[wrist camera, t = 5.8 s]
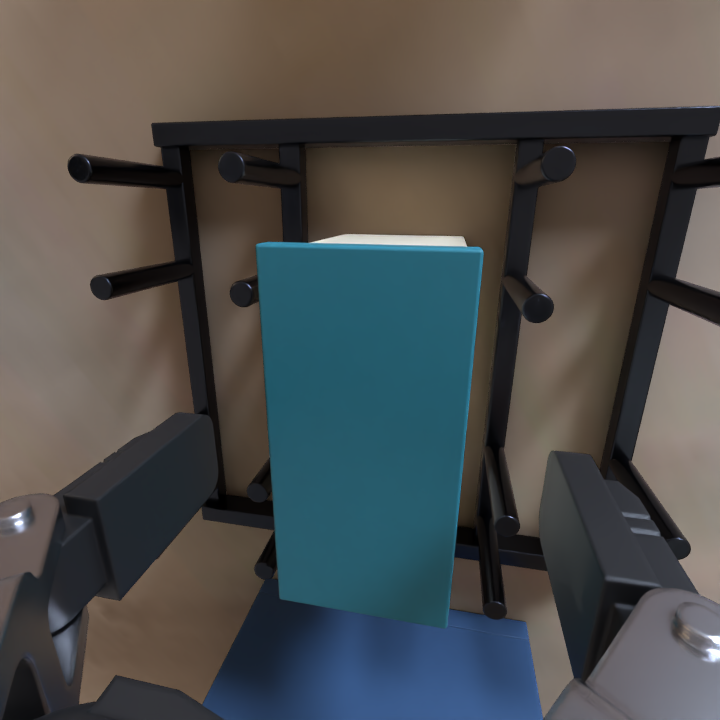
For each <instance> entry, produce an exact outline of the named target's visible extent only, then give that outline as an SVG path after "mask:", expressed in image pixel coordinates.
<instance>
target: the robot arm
mask: <svg viewBox="0 0 720 720" xmlns="http://www.w3.org/2000/svg"><path fill="white" fill-rule="evenodd" d="M217 480H218V462H217V454H216V445H215V437H214V429H213V423H212V420H211V418H210V417H209V416H208V415H202V414H192V413H182V412H178V413H175V414H174V415H172V416H171V417H170V418H168V419H167V420H166V421H164V422H163V423H161V424H160V425H159V426H157V427H156V428H155V429H153V430H152V431H150V432H148V433H145V434H143V435H141V436H138V437H136V438H134V439H132V440H131V441H130V442H128V443H127V444H125V445H124V446H122V447H121V448H120V449H118V451H117V453H115V452H114V453H113V454H111V455H110V456H108V457H107V458H106V459H104V462H103V463H102V462H100V463H99V464H97V465H96V466H94V467H93V468H91V469H90V470H89V471H87V472H86V473H84V474H83V475H82V476H80V477H79V478H77V479H76V480H75V481H73V482H72V483H70V484H69V485H68V486H66V487H65V488H63V489H62V490H60V491H59V492H58V493H56V494H55V495H49V494H29V495H23V496H19V497H15V498H12V499H9V500H6V501H3V502H1V503H0V720H224V719H223V718H221V717H220V716H218V715H217V714H215V713H214V712H212V711H211V710H209V709H208V708H206V707H204V706H203V705H201V704H200V703H198V702H197V701H195V700H194V699H192V698H191V697H189V696H188V695H186V694H185V693H183V692H181V691H180V690H177V689H172V688H168V687H164V686H160V685H155V684H151V683H147V682H143V681H139V680H134V679H130V678H126V677H122V676H117V675H115V677H114V678H113V680H112V681H111V682H110V684H109V685H108V686H107V688H106V689H105V690H104V692H103V693H102V695H101V696H100V697H99V699H98V700H97V701H96V702H90V703H85V704H80V705H79V697H80V689H81V681H82V673H83V664H84V656H85V648H86V640H87V632H88V623H89V613H88V609H87V604H88V602H89V601H90V600H91V599H92V598H93V597H94V596H98V597H103V598H108V599H113V600H118V601H120V600H121V599H122V598H123V597H124V596H125V594H126V593H127V592H128V591H129V590H130V589H131V587H132V586H133V585H134V584H135V583H136V582H137V580H138V579H139V578H140V577H141V576H142V575H143V574H144V572H145V571H146V570H147V569H148V568H149V567H150V565H151V564H152V563H153V562H154V561H155V560H156V558H157V557H158V556H159V555H160V554H161V553H162V551H163V550H164V549H165V548H166V547H167V546H168V544H169V543H170V542H171V541H172V540H173V539H174V538H175V536H176V535H177V534H178V533H179V532H180V531H181V529H182V528H183V527H184V526H185V525H186V524H187V522H188V521H189V520H190V519H191V518H192V517H193V515H194V514H195V513H196V512H197V511H198V510H199V508H200V507H201V506H202V505H203V504H204V503H205V502H206V500H207V499H208V498H209V497H210V496H211V494H212V493H213V491H214V489H215V487H216V484H217ZM539 536H540V542H541V546H542V550H543V554H544V558H545V562H546V566H547V570H548V574H549V578H550V582H551V587H552V591H553V595H554V599H555V603H556V607H557V611H558V615H559V619H560V623H561V627H562V631H563V635H564V639H565V643H566V647H567V651H568V655H569V659H570V663H571V667H572V671H573V675H574V679H573V680H572V681H571V682H570V683H569V684H568V685H567V686H566V687H565V689H564V690H563V691H562V693H561V694H560V696H559V697H558V699H557V700H556V701H555V703H554V704H553V706H552V707H551V709H550V710H549V712H548V713H547V714H546V716H545V717H544V719H543V720H720V605H719V604H717V603H716V602H714V601H712V600H710V599H707V598H705V597H703V596H701V595H699V593H698V592H697V590H696V589H695V587H694V585H693V584H692V582H691V581H690V579H689V577H688V576H687V574H686V573H685V571H684V569H683V568H682V566H681V565H680V563H679V561H678V560H677V558H676V557H675V555H674V553H673V552H672V550H671V549H670V547H669V545H668V544H667V542H666V541H665V539H664V537H661V535H660V531H659V529H658V528H657V526H656V525H655V523H654V521H653V520H651V519H650V515H649V513H648V512H647V510H646V509H645V507H644V505H643V504H642V502H641V501H640V499H639V498H638V497H637V496H636V495H635V494H633V493H632V492H631V491H630V490H628V489H627V488H626V487H625V486H623V485H622V484H621V483H620V482H618V481H613V480H604V479H603V477H602V475H601V473H600V471H599V469H598V467H597V466H596V464H595V462H594V460H593V458H592V457H591V455H589V454H582V453H572V452H562V451H551V452H550V454H549V457H548V461H547V467H546V474H545V480H544V486H543V493H542V499H541V505H540V512H539Z"/></svg>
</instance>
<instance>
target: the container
mask: <svg viewBox="0 0 720 720" xmlns="http://www.w3.org/2000/svg"><path fill="white" fill-rule="evenodd" d="M483 255H484V253H483V250H482V249H481V248H480V247H467V245H466V242H465V239H464V237H463V236H419V235H368V234H344V235H340V236H336V237H332V238H327V239H323V240H319V241H315V242H310V243H296V242H264V243H259V244H257V245H256V261H257V276H258V291H259V306H260V320H261V335H262V350H263V365H264V380H265V395H266V409H267V424H268V439H269V454H270V469H271V484H272V498H273V513H274V528H275V543H276V558H277V573H278V587H279V598H280V599H282V600H287V601H293V602H298V603H304V604H309V605H315V606H321V607H326V608H332V609H337V610H343V611H348V612H354V613H360V614H365V615H371V616H376V617H382V618H387V619H393V620H399V621H404V622H410V623H415V624H421V625H426V626H432V627H437V628H443V629H445V628H447V626H448V615H449V605H450V595H451V585H452V574H453V564H454V554H455V543H456V533H457V523H458V513H459V502H460V492H461V482H462V471H463V461H464V451H465V441H466V430H467V420H468V410H469V399H470V389H471V379H472V369H473V358H474V348H475V338H476V327H477V317H478V307H479V297H480V286H481V276H482V266H483Z"/></svg>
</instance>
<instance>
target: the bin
mask: <svg viewBox="0 0 720 720" xmlns="http://www.w3.org/2000/svg"><path fill="white" fill-rule="evenodd" d="M202 705H203V706H204V707H206V708H208V709H209V710H211V711H212V712H214V713H215V714H217V715H218V716H220V717H221V718H223V719H224V720H543V716H542V710H541V705H540V699H539V693H538V688H537V682H536V676H535V671H534V665H533V660H532V654H531V648H530V643H529V636H528V631H527V625H526V622H522V621H516V620H511V619H505V618H502V619H499V620H493V619H490V618H488V617H487V616H486V615H481V614H476V613H470V612H464V611H458V610H452V609H449V615H448V626H447V628H445V629H443V628H437V627H432V626H426V625H421V624H415V623H410V622H404V621H399V620H393V619H387V618H382V617H376V616H371V615H365V614H360V613H354V612H348V611H343V610H337V609H332V608H326V607H321V606H315V605H309V604H304V603H298V602H293V601H287V600H282V599H280V598H279V587H278V580H277V579H271V578H270V579H268V580H265V581H264V583H263V585H262V587H261V589H260V591H259V593H258V595H257V597H256V599H255V601H254V603H253V605H252V607H251V609H250V611H249V613H248V615H247V617H246V619H245V621H244V623H243V625H242V627H241V629H240V631H239V633H238V635H237V637H236V639H235V641H234V643H233V644H232V646H231V648H230V650H229V652H228V654H227V656H226V658H225V660H224V662H223V664H222V666H221V668H220V670H219V672H218V674H217V676H216V678H215V680H214V682H213V684H212V686H211V688H210V690H209V692H208V694H207V696H206V698H205V700H204V702H203V704H202Z"/></svg>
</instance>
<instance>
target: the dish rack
mask: <svg viewBox="0 0 720 720" xmlns="http://www.w3.org/2000/svg"><path fill="white" fill-rule="evenodd" d="M719 123H720V106H697V107H664V108H631V109H598V110H565V111H532V112H498V113H465V114H432V115H399V116H366V117H333V118H300V119H266V120H233V121H200V122H167V123H152V124H151V126H152V133H153V141H154V146H156V147H160V148H161V152H162V160H163V166H159V165H152V164H145V163H138V162H131V161H125V160H118V159H111V158H104V157H97V156H91V155H84V154H74V155H72V156H71V157H70V158H69V160H68V171H69V173H70V175H71V177H72V178H73V179H74V180H76V181H77V182H79V183H86V184H100V185H115V186H129V187H144V188H158V189H166V192H167V200H168V208H169V215H170V223H171V231H172V239H173V247H174V255H175V261H171V262H166V263H161V264H155V265H150V266H145V267H139V268H134V269H129V270H123V271H118V272H112V273H107V274H102V275H97V276H95V277H93V279H92V280H91V283H90V288H91V291H92V293H93V294H94V295H95V296H96V297H97V298H99V299H101V300H108V299H112V298H116V297H120V296H124V295H127V294H131V293H135V292H139V291H143V290H146V289H150V288H154V287H158V286H162V285H165V284H169V283H173V282H177V281H178V287H179V294H180V302H181V310H182V318H183V326H184V334H185V342H186V350H187V358H188V366H189V374H190V381H191V389H192V397H193V405H194V413H195V414H202V415H208V416H209V417H210V418H211V420H212V423H213V429H214V437H215V445H216V454H217V462H218V480H217V484H216V487H215V489H214V491H213V493H212V494H211V496H210V497H209V498H208V499H207V500H206V502H205V503H204V504H203V505H202V506H201V507H202V515H203V519H204V520H210V521H216V522H223V523H230V524H236V525H243V526H250V527H256V528H263V529H270V530H274V532H273V534H272V536H271V538H270V539H269V541H268V543H267V545H266V547H265V548H264V550H263V552H262V554H261V556H260V557H259V559H258V561H257V563H256V565H255V567H254V571H255V574H256V575H257V576H258V577H259V578H261V579H264V580H268V579H270V578H272V577H273V576H274V574H275V572H276V570H277V558H276V543H275V528H274V513H273V501H268V500H267V498H268V497H269V495H270V494H271V492H272V484H271V469H270V457H269V459H268V460H267V461H266V463H265V464H264V465H263V467H262V468H261V470H260V471H259V472H258V474H257V475H256V476H255V478H254V479H253V480H252V482H251V483H250V484H249V486H248V487H247V494H248V496H249V498H246V497H239V496H232V495H226V485H225V476H224V467H223V457H222V448H221V439H220V429H219V420H218V411H217V402H216V392H215V383H214V374H213V364H212V355H211V346H210V336H209V327H208V318H207V309H206V299H205V290H204V281H203V271H202V262H201V253H200V243H199V234H198V225H197V215H196V206H195V197H194V188H193V178H192V169H191V160H190V150H210V149H267V148H279V159H280V164H279V163H276V162H272V161H268V160H264V159H260V158H256V157H253V156H249V155H245V154H241V153H237V152H233V151H228V152H225V153H224V154H223V155H222V156H221V157H220V159H219V162H218V169H219V173H220V175H221V176H222V178H223V179H224V180H226V181H227V182H230V183H237V184H245V185H254V186H263V187H271V188H280V189H281V202H282V223H283V242H296V243H308V222H307V188H306V154H305V148H325V147H382V146H440V145H497V144H516V151H515V160H514V169H513V178H512V187H511V196H510V205H509V214H508V223H507V232H506V241H505V249H504V258H503V267H502V276H501V285H500V294H499V303H498V312H497V321H496V330H495V339H494V348H493V357H492V366H491V374H490V383H489V392H488V401H487V410H486V419H485V428H484V437H483V446H482V455H481V464H480V473H479V482H478V491H477V499H476V508H475V517H474V526H473V529H472V528H465V527H458V526H457V533H456V543H455V554H454V557H456V558H463V559H470V560H476V561H479V566H480V579H481V593H482V606H483V612H484V614H485V615H486V616H487V617H488V618H490V619H493V620H499V619H502V618H504V617H505V616H506V614H507V607H506V599H505V592H504V584H503V577H502V569H501V564H503V565H510V566H516V567H523V568H530V569H536V570H543V571H548V570H547V566H546V562H545V558H544V554H543V550H542V546H541V542H540V538H538V537H531V536H523V535H516V534H517V533H518V531H519V529H520V523H519V518H518V513H517V509H516V504H515V499H514V495H513V490H512V485H511V480H510V476H509V471H508V466H507V462H506V457H505V452H504V446H505V438H506V431H507V423H508V415H509V408H510V400H511V392H512V385H513V377H514V369H515V362H516V354H517V347H518V339H519V331H520V324H521V316H522V315H523V316H524V318H525V319H526V320H528V321H529V322H532V323H541V322H544V321H546V320H547V319H548V318H549V317H550V316H551V315H552V313H553V310H554V304H553V301H552V300H551V298H550V297H549V296H548V295H547V294H545V293H544V292H543V291H542V290H541V289H540V288H539V287H538V286H537V285H536V284H534V283H533V282H532V281H531V280H530V279H529V278H528V277H527V270H528V262H529V255H530V247H531V239H532V232H533V224H534V216H535V209H536V201H537V193H538V187H541V186H545V185H549V184H553V183H557V182H560V181H563V180H565V179H567V178H568V177H569V176H570V175H571V174H572V173H573V171H574V169H575V166H576V156H575V154H574V152H573V151H572V150H571V149H570V148H568V147H566V146H556V147H553V148H551V149H549V150H548V151H546V152H545V153H543V147H544V144H555V143H612V142H670V146H669V150H668V155H667V160H666V164H665V169H664V174H663V178H662V183H661V187H660V192H659V197H658V201H657V206H656V211H655V215H654V220H653V225H652V229H651V234H650V239H649V243H648V248H647V253H646V257H645V262H644V267H643V271H642V276H641V281H640V285H639V290H638V295H637V299H636V304H635V308H634V313H633V318H632V322H631V327H630V332H629V336H628V341H627V346H626V350H625V355H624V360H623V364H622V369H621V374H620V378H619V383H618V388H617V392H616V397H615V402H614V406H613V411H612V416H611V420H610V425H609V429H608V434H607V439H606V443H605V448H604V453H603V457H602V462H601V467H600V473H601V475H602V477H603V479H604V480H613V481H618V482H620V483H621V484H622V485H623V486H625V487H626V488H627V489H628V490H630V491H631V492H632V493H633V494H635V495H636V496H637V497H638V498H639V499H640V501H641V502H642V504H643V505H644V507H645V509H646V510H647V512H648V513H649V515H650V519H651V520H653V521H654V523H655V525H656V526H657V528H658V529H659V531H660V535H661V537H664V539H665V541H666V542H667V544H668V545H669V547H670V549H671V550H672V552H673V553H674V555H675V557H676V558H677V560H680V559H683V558H685V557H687V556H688V555H689V553H690V551H691V547H690V544H689V542H688V541H687V540H686V538H685V537H684V535H683V534H682V532H681V531H680V530H679V528H678V527H677V525H676V524H675V523H674V521H673V520H672V518H671V517H670V515H669V514H668V513H667V511H666V510H665V508H664V507H663V506H662V504H661V503H660V501H659V500H658V498H657V497H656V496H655V494H654V493H653V491H652V490H651V489H650V487H649V486H648V484H647V483H646V481H645V480H644V479H643V477H642V476H641V474H640V473H639V472H638V470H637V469H636V467H635V466H634V465H633V463H632V462H631V461H632V457H633V453H634V449H635V445H636V440H637V436H638V432H639V428H640V424H641V420H642V415H643V411H644V407H645V403H646V399H647V395H648V390H649V386H650V382H651V378H652V374H653V370H654V365H655V361H656V357H657V353H658V349H659V345H660V340H661V336H662V332H663V328H664V324H665V320H666V316H667V311H668V307H669V304H670V305H672V306H674V307H677V308H679V309H681V310H683V311H686V312H688V313H690V314H692V315H695V316H697V317H699V318H702V319H704V320H706V321H708V322H711V323H713V324H715V325H717V326H720V292H718V291H715V290H711V289H708V288H705V287H702V286H699V285H695V284H692V283H689V282H686V281H683V280H679V279H676V274H677V270H678V266H679V261H680V257H681V253H682V249H683V245H684V241H685V236H686V232H687V228H688V224H689V220H690V216H691V211H692V207H693V203H694V199H695V195H696V191H697V189H702V188H715V187H720V157H715V158H710V159H705V160H704V157H705V153H706V149H707V145H708V141H709V137H712V136H715V135H716V134H717V131H718V127H719ZM230 297H231V300H232V301H233V302H234V303H235V304H236V305H238V306H240V307H248V306H250V305H252V304H254V303H257V302H259V291H258V276H257V275H255V276H252V277H249V278H246V279H243V280H240V281H237V282H235V283H234V284H233V285H232V286H231V289H230ZM201 507H200V508H201ZM200 508H199V509H200ZM197 512H198V511H197ZM197 512H196V513H197ZM196 513H195V514H196ZM195 514H194V515H195ZM194 515H193V516H194ZM191 519H192V518H191ZM191 519H190V520H191ZM190 520H189V521H190ZM189 521H188V522H189ZM188 522H187V523H188ZM186 525H187V524H186ZM186 525H185V526H186ZM185 526H184V527H185ZM184 527H183V528H184ZM183 528H182V529H183ZM182 529H181V531H182ZM181 531H180V532H181ZM180 532H179V533H180ZM179 533H178V534H179ZM178 534H177V535H178ZM177 535H176V536H177ZM176 536H175V538H176ZM175 538H174V539H175ZM174 539H173V540H174ZM173 540H172V541H173ZM172 541H171V542H172ZM171 542H170V543H169V544H168V546H169V545H170V544H171ZM168 546H167V547H168ZM167 547H166V548H167ZM166 548H165V549H166ZM165 549H164V550H163V551H162V553H163V552H164V551H165ZM162 553H161V554H162ZM161 554H160V555H161ZM160 555H159V556H158V557H157V558H156V559H158V558H159V557H160Z"/></svg>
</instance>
